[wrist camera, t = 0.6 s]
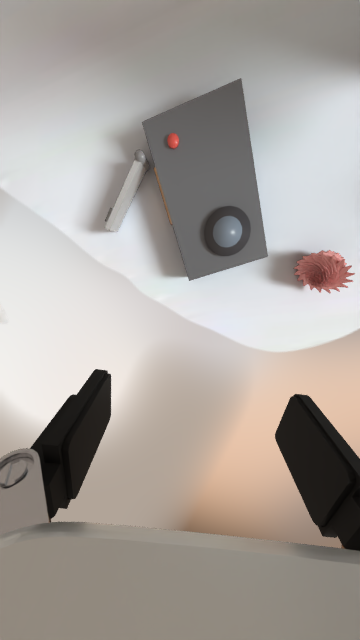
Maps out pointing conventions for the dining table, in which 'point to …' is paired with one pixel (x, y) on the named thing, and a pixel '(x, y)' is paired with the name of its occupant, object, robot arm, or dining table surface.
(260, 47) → the dining table surface
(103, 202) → the dining table surface
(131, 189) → the port door
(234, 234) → the camera body
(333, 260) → the flower
